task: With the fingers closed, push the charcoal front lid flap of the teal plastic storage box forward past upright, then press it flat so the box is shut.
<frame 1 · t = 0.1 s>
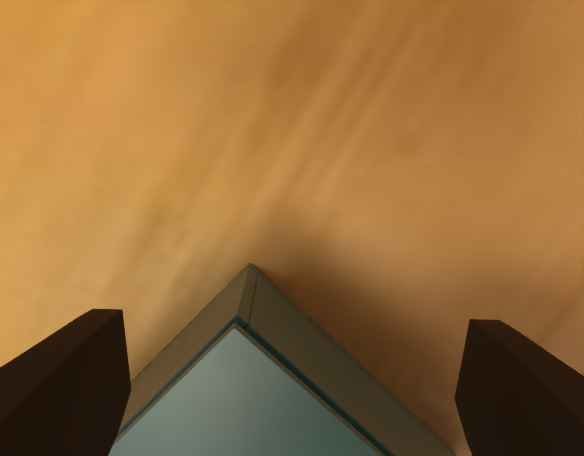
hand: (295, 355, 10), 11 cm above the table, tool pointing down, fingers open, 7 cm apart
storage box: (255, 453, 23), on the table
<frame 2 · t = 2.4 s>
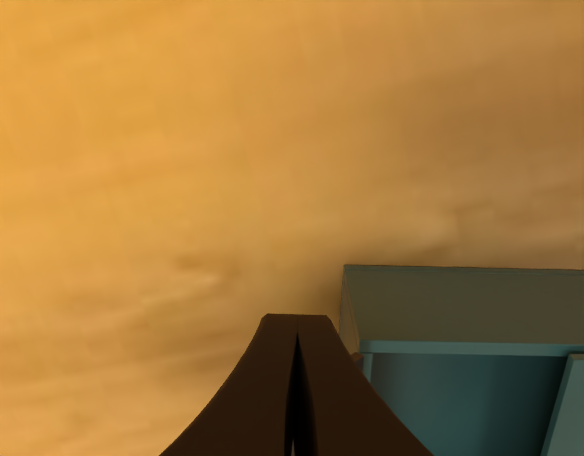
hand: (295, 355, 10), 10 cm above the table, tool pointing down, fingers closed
storage box: (471, 390, 24), on the table
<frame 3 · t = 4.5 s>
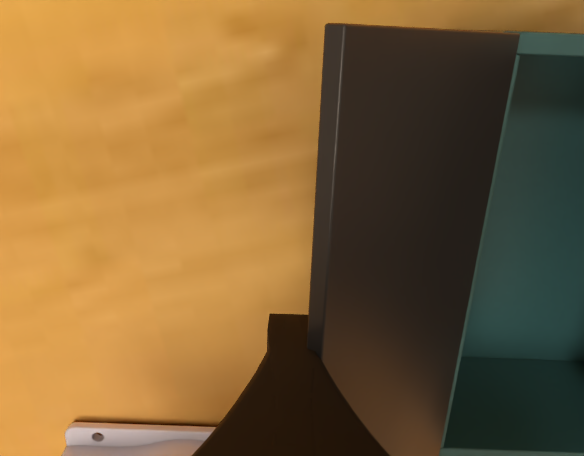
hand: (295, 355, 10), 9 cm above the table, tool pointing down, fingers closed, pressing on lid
lid: (402, 343, 11), point 9 cm above the table, hinge at 131.5°, touching gripper
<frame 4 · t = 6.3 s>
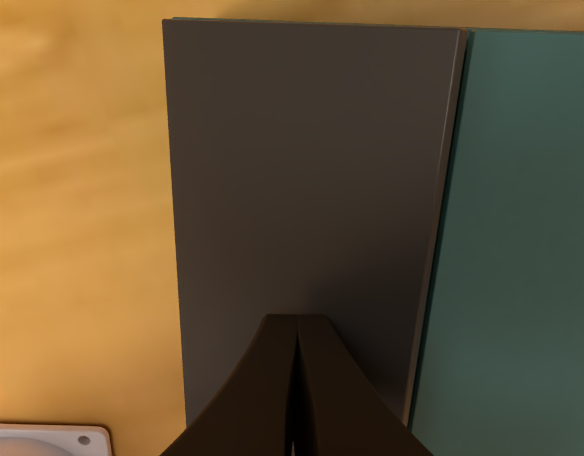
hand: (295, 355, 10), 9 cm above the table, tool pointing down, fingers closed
storage box: (387, 213, 19), on the table
lid: (279, 330, 11), point 8 cm above the table, hinge at 35.7°, touching gripper
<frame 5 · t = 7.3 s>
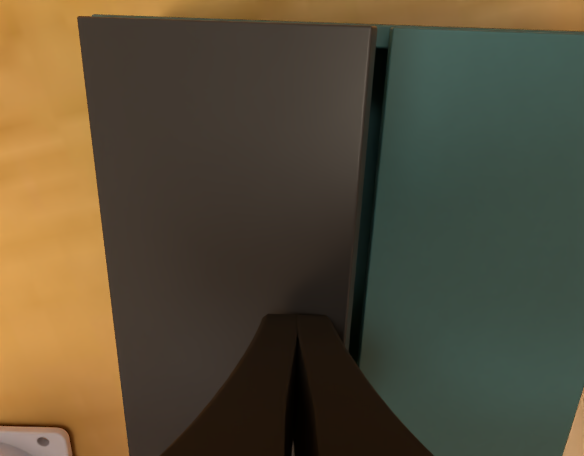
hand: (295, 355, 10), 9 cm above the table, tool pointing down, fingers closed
storage box: (340, 212, 19), on the table
lid: (217, 318, 12), point 7 cm above the table, hinge at 25.2°, touching gripper
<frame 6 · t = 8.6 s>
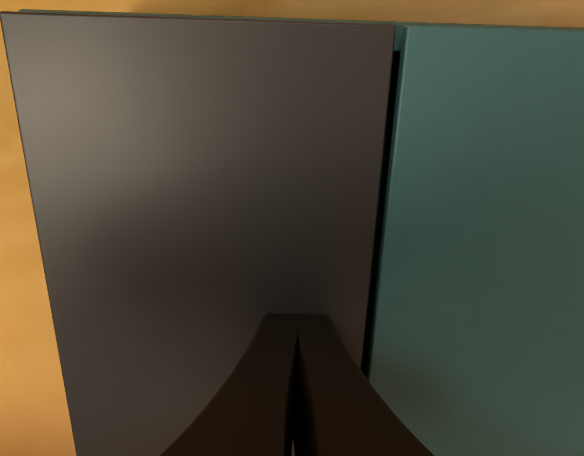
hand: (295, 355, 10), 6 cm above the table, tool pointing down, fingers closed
storage box: (340, 239, 16), on the table
lid: (212, 348, 11), point 6 cm above the table, hinge at -1.1°
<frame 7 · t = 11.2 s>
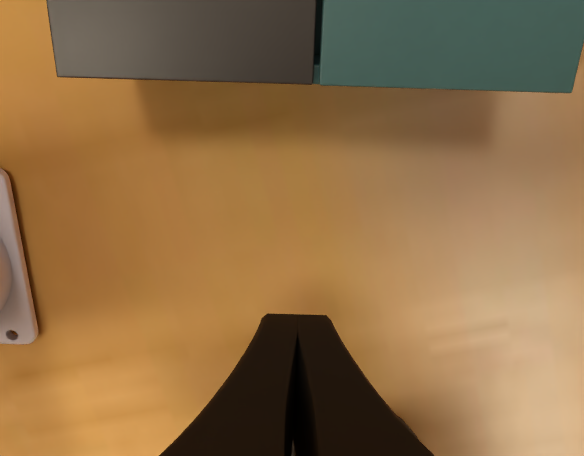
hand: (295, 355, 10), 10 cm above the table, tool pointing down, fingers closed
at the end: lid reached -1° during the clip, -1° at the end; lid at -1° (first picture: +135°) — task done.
